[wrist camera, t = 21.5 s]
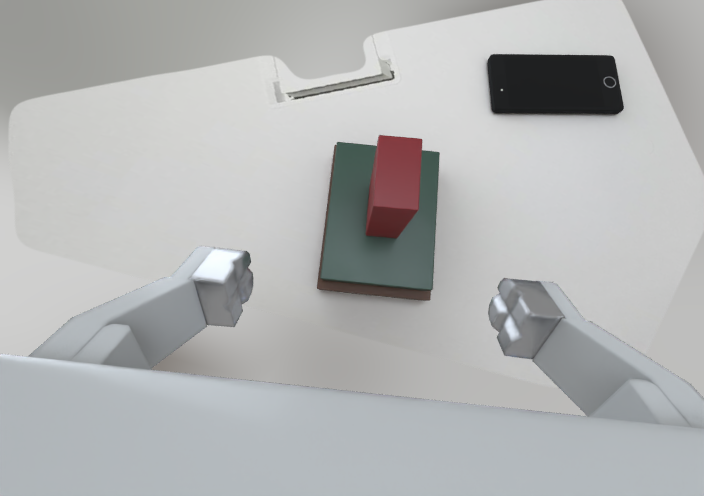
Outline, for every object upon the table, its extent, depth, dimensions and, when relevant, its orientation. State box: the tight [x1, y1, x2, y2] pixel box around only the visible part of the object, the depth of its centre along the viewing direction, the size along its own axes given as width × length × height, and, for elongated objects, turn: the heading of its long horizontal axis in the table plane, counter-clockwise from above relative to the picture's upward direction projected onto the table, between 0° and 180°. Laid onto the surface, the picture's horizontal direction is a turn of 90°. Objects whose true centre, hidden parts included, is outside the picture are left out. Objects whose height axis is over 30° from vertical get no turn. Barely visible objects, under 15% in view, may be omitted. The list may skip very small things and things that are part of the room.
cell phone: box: [488, 54, 624, 114], centre depth 41 cm, size 9×18×1 cm, turn 90°
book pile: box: [317, 142, 439, 301], centre depth 35 cm, size 18×13×6 cm
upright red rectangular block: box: [366, 135, 422, 238], centre depth 28 cm, size 6×4×10 cm, turn 175°
